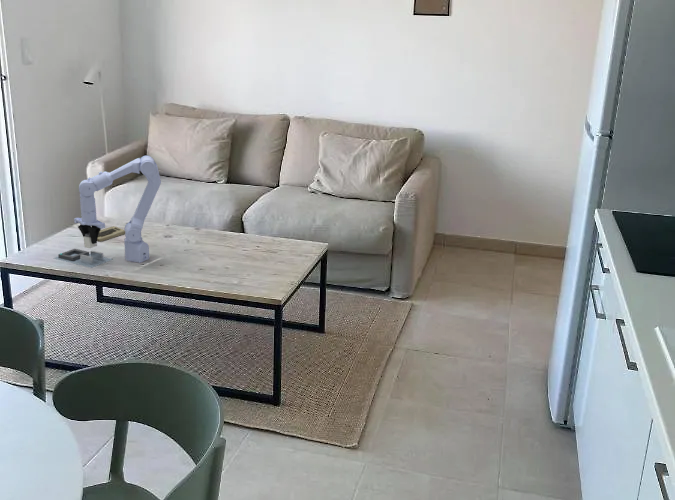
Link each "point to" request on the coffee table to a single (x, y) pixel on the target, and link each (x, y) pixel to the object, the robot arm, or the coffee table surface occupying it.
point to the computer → (110, 233)
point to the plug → (88, 241)
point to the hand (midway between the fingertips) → (91, 242)
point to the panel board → (95, 261)
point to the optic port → (74, 251)
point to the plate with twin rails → (91, 257)
